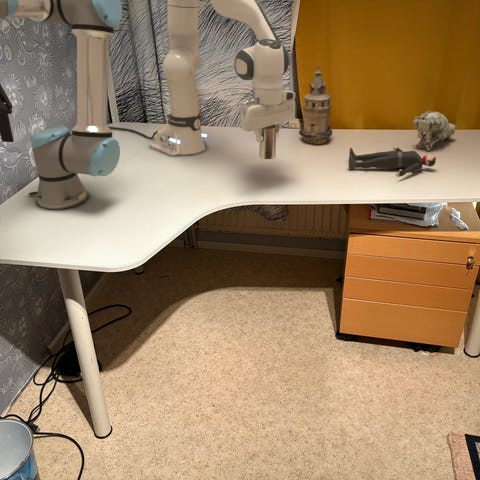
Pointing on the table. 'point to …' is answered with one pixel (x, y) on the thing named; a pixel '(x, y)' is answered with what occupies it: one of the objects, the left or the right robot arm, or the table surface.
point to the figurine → (432, 128)
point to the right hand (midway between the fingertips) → (267, 138)
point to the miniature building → (316, 112)
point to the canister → (268, 142)
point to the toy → (391, 160)
